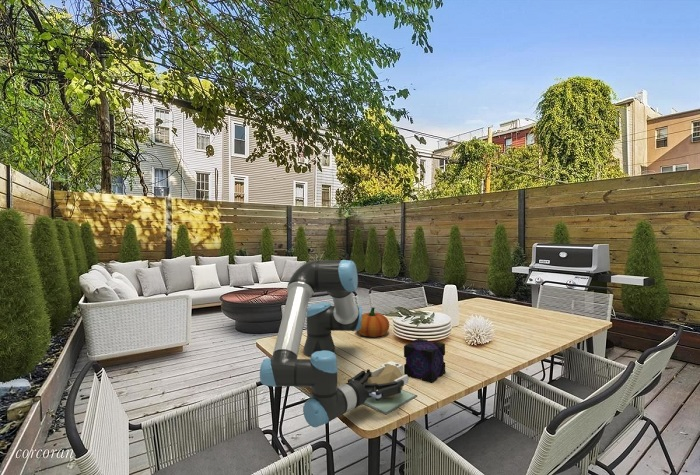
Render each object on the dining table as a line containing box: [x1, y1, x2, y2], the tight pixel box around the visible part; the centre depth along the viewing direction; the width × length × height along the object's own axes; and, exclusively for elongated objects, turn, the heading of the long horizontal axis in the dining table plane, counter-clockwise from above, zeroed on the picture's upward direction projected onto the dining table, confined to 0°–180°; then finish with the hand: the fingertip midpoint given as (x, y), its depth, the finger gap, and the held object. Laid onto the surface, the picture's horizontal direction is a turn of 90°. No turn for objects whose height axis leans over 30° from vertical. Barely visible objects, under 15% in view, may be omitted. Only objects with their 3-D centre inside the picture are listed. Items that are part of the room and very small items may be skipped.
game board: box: [338, 382, 418, 416], centre depth 122 cm, size 25×17×1 cm
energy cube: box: [403, 338, 446, 384], centre depth 137 cm, size 12×12×12 cm
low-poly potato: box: [367, 364, 404, 399], centre depth 119 cm, size 15×11×12 cm
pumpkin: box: [356, 307, 390, 338], centre depth 193 cm, size 19×19×15 cm
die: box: [380, 360, 404, 376], centre depth 132 cm, size 6×6×6 cm
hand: (394, 374), depth 121 cm, fingers closed on low-poly potato, 10 cm apart
